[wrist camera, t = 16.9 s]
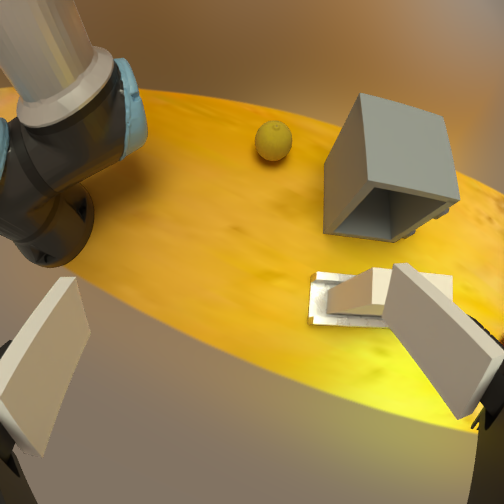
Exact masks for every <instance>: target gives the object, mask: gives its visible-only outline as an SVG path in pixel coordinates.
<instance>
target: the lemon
mask: <svg viewBox="0 0 504 504" xmlns="http://www.w3.org/2000/svg"><path fill="white" fill-rule="evenodd" d="M291 145H292V135H291V132H290V130H289V128H288V127H287V126H286V125H285V124H284V123H282V122H279V121H269V122H266V123H264V124H263V125H262V126H261V127H260V128H259V130H258V131H257V134H256V137H255V146H256V150H257V152H258V153H259V155H260V156H261V157H263V158H264V159H266V160H269V161H277V160H280V159H282V158H284V157H285V156H286V155H287V154H288V153H289V151H290V149H291Z"/></svg>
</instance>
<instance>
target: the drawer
mask: <svg viewBox="0 0 504 504" xmlns="http://www.w3.org/2000/svg"><path fill="white" fill-rule="evenodd" d="M355 276H357V275H346V274H336V273H326V272H316V273H314V274H313V275H312V276H311V284H310V298H309V312H308V324H310V325H325V326H342V327H363V328H389V326H388V325H387V324H386V323H385V321H384V320H383V319H382V318H381V317H362V316H346V315H331V314H326V310H327V295H328V289H330V288H332V287H334V286H337V285H339V284H341V283H343V282H345V281H347V280H349V279H351V278H353V277H355Z"/></svg>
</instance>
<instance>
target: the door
mask: <svg viewBox="0 0 504 504" xmlns="http://www.w3.org/2000/svg"><path fill="white" fill-rule="evenodd" d="M391 273H392V269H383V268H371V269H369V270H367V271H365V272H363V273H361V274H359V275H357V276H355V277H353V278H351V279H349V280H347V281H345V282H343V283H341V284H339V285H337V286H334V287H332V288H330V289H328V295H327V310H326V314H331V315H346V316H362V317H381V318H382V313H383V309H384V305H385V301H386V296H387V292H388V287H389V283H390V278H391ZM419 273H420V274H421V275H423V276H424V277H425V278H426V279H427V280H428V281H430V282H431V283H432V284H433V285H434V286H435V287H436V288H438V289H439V290H440V291H441V292H442V293H443V294H444V295H446V296H447V297H448V298H449V299H450V300H451V301H452V302H453V287H452V276H450V275H440V274H431V273H421V272H419Z"/></svg>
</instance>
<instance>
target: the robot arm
mask: <svg viewBox="0 0 504 504" xmlns="http://www.w3.org/2000/svg"><path fill="white" fill-rule="evenodd" d="M0 68H1V69H2V71H3V72H4V74H5V75H6V77H7V78H8V79H9V81H10V82H11V84H12V85H13V87H14V88H15V90H16V91H17V92H18V94H19V95H20V97H19V100H18V103H17V117H16V118H14V119H13V120H11V121H10V122H8V123H7V121H6V120H5V119H3V118H0V235H2V236H4V237H6V238H8V239H10V240H12V241H13V242H14V243H15V245H16V246H17V247H18V249H19V250H20V251H21V253H22V254H23V255H24V256H25V257H26V258H27V259H28V260H29V261H31V262H32V263H34V264H37V265H39V266H42V267H47V268H54V267H59V266H62V265H64V264H66V263H68V262H69V261H71V260H72V259H73V258H74V257H76V256H77V255H78V253H79V252H80V251H81V250H82V249H83V247H84V246H85V244H86V242H87V240H88V238H89V236H90V233H91V230H92V227H93V222H94V207H93V202H92V199H91V197H90V195H89V193H88V192H87V191H86V189H85V188H84V187H83V186H82V185H81V184H80V183H79V182H81V181H82V180H84V179H86V178H88V177H90V176H91V175H93V174H95V173H97V172H99V171H101V170H103V169H104V168H106V167H108V166H110V165H112V164H114V163H116V162H118V161H121V160H123V159H124V158H125V156H127V155H129V154H131V153H132V152H134V151H136V150H137V149H139V148H141V147H142V146H143V145H144V143H145V142H146V139H147V135H148V128H147V121H146V116H145V111H144V107H143V103H142V100H141V98H140V96H139V91H138V86H137V83H136V80H135V77H134V74H133V72H132V69H131V67H130V65H129V63H128V62H127V60H125V59H124V58H119V59H113V57H112V56H111V54H110V53H109V52H108V51H107V50H106V49H103V48H100V47H93V46H92V45H91V43H90V41H89V38H88V36H87V34H86V31H85V29H84V26H83V23H82V21H81V18H80V16H79V13H78V11H77V8H76V6H75V3H74V1H73V0H0ZM382 319H383V320H384V321H385V323H386V324H387V325H388V326H389V328H390V329H391V330H392V332H393V333H394V334H395V335H396V337H397V338H398V339H399V341H400V342H401V343H402V345H403V346H404V347H405V348H406V350H407V351H408V352H409V354H410V355H411V356H412V358H413V359H414V360H415V362H416V363H417V364H418V366H419V367H420V368H421V370H422V371H423V373H424V374H425V375H426V377H427V378H428V379H429V381H430V382H431V383H432V385H433V386H434V388H435V389H436V390H437V392H438V393H439V395H440V396H441V397H442V399H443V400H444V402H445V403H446V404H447V406H448V407H449V409H450V410H451V412H452V413H453V414H454V416H455V417H456V419H457V420H459V419H461V418H463V417H465V416H468V415H470V414H472V413H473V411H474V410H475V408H476V407H477V405H478V403H479V402H481V403H482V404H483V406H484V407H483V409H482V410H481V412H480V413H479V415H478V416H477V418H476V419H475V421H474V422H473V424H472V426H471V429H473V428H474V427H475V426H476V424H477V423H478V422H479V427H478V428H477V430H479V432H478V442H477V451H476V458H475V465H474V471H473V477H472V483H471V488H470V493H469V498H468V502H467V504H504V346H503V345H502V344H501V343H500V342H499V341H498V340H497V339H496V338H495V337H494V336H493V335H490V332H489V331H488V330H486V329H484V327H483V326H482V325H481V324H480V323H479V322H478V321H477V320H476V319H474V318H472V317H471V316H469V315H467V314H465V313H464V312H463V311H462V310H461V309H460V308H459V307H458V306H457V305H456V304H455V303H453V302H452V301H451V300H450V299H449V298H448V297H447V296H446V295H444V294H443V293H442V292H441V291H440V290H439V289H438V288H436V287H435V286H434V285H433V284H432V283H431V282H430V281H428V280H427V279H426V278H425V277H424V276H423V275H421V274H420V273H419V272H418V271H417V270H415V269H414V268H413V267H412V266H411V265H409V264H408V263H398V264H393V269H392V273H391V278H390V283H389V287H388V292H387V296H386V301H385V305H384V309H383V313H382ZM90 334H91V331H90V328H89V325H88V321H87V318H86V314H85V310H84V307H83V303H82V299H81V295H80V291H79V287H78V283H77V279H76V277H60V278H59V279H58V281H57V282H56V283H55V284H54V285H53V287H52V288H51V289H50V291H49V292H48V293H47V294H46V296H45V297H44V298H43V300H42V301H41V303H40V304H39V305H38V306H37V308H36V309H35V310H34V312H33V313H32V314H31V316H30V317H29V318H28V320H27V321H26V323H25V324H24V325H23V327H22V328H21V330H20V331H19V333H18V334H17V335H16V337H15V338H14V340H9V341H8V342H7V343H5V344H4V345H3V346H2V347H1V348H0V504H37V501H36V499H35V497H34V495H33V493H32V491H31V489H30V487H29V485H28V483H27V480H26V478H25V476H24V474H23V471H22V469H21V467H20V464H19V461H18V459H17V457H16V455H15V454H14V452H13V451H12V449H13V447H14V444H15V443H16V444H17V446H18V447H19V448H20V449H21V451H22V452H23V453H24V454H28V455H32V456H36V457H40V458H43V456H44V453H45V450H46V447H47V444H48V441H49V438H50V435H51V432H52V429H53V426H54V423H55V420H56V417H57V415H58V412H59V409H60V407H61V404H62V401H63V398H64V396H65V393H66V391H67V388H68V386H69V383H70V381H71V378H72V376H73V374H74V371H75V369H76V366H77V364H78V362H79V359H80V357H81V354H82V352H83V350H84V348H85V345H86V343H87V341H88V339H89V336H90Z"/></svg>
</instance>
